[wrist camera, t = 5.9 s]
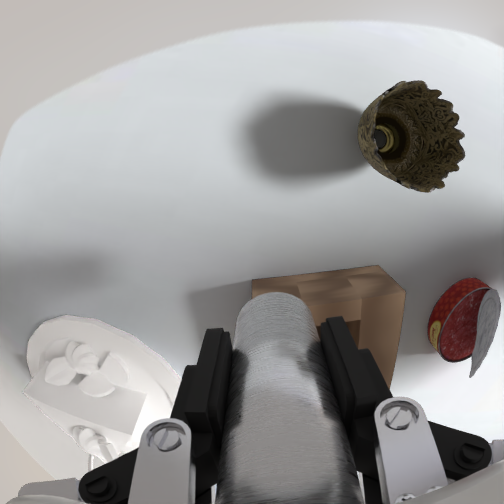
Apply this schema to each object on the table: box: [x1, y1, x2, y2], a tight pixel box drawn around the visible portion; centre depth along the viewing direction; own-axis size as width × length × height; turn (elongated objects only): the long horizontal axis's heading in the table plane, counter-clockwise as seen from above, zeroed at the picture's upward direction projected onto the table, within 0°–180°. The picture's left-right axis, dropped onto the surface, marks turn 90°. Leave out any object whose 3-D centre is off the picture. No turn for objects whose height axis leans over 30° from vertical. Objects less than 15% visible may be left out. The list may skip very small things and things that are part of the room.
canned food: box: [428, 278, 501, 378], centre depth 26 cm, size 11×10×10 cm
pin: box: [215, 292, 364, 504], centre depth 8 cm, size 3×3×9 cm
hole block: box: [252, 265, 406, 390], centre depth 27 cm, size 12×16×6 cm
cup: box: [358, 81, 465, 192], centre depth 19 cm, size 8×7×8 cm
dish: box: [22, 315, 182, 472], centre depth 28 cm, size 25×25×11 cm
